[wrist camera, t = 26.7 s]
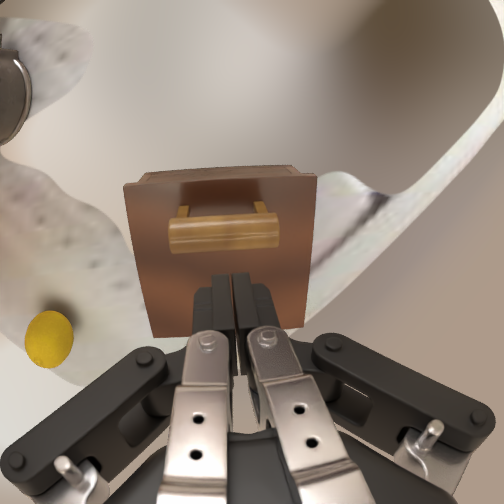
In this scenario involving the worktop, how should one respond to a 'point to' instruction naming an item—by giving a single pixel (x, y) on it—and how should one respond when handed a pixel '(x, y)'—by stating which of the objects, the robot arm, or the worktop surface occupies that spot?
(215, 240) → the lid
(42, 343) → the lemon
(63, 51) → the worktop surface
